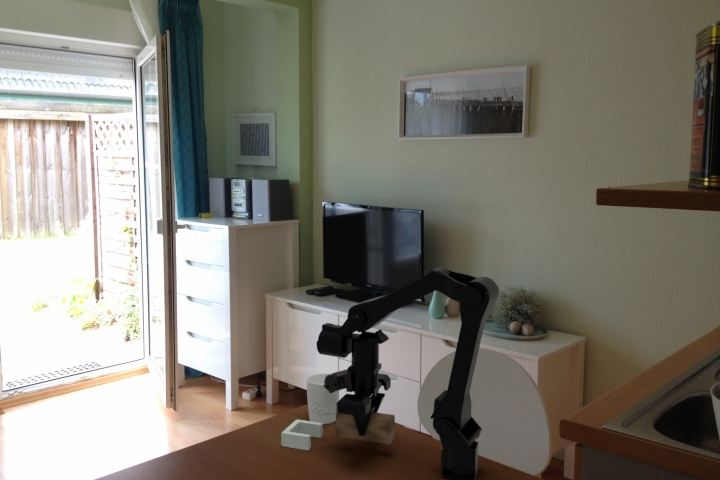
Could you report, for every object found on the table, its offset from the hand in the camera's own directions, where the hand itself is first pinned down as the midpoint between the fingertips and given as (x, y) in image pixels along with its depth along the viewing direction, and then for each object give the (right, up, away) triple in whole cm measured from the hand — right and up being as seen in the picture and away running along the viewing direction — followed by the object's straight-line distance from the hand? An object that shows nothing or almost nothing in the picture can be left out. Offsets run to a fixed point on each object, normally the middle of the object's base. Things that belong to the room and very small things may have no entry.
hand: (364, 431), depth 138 cm
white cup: (-10, -2, +18) cm, 20 cm away
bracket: (-13, -4, +5) cm, 15 cm away
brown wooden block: (0, -1, 0) cm, 1 cm away
